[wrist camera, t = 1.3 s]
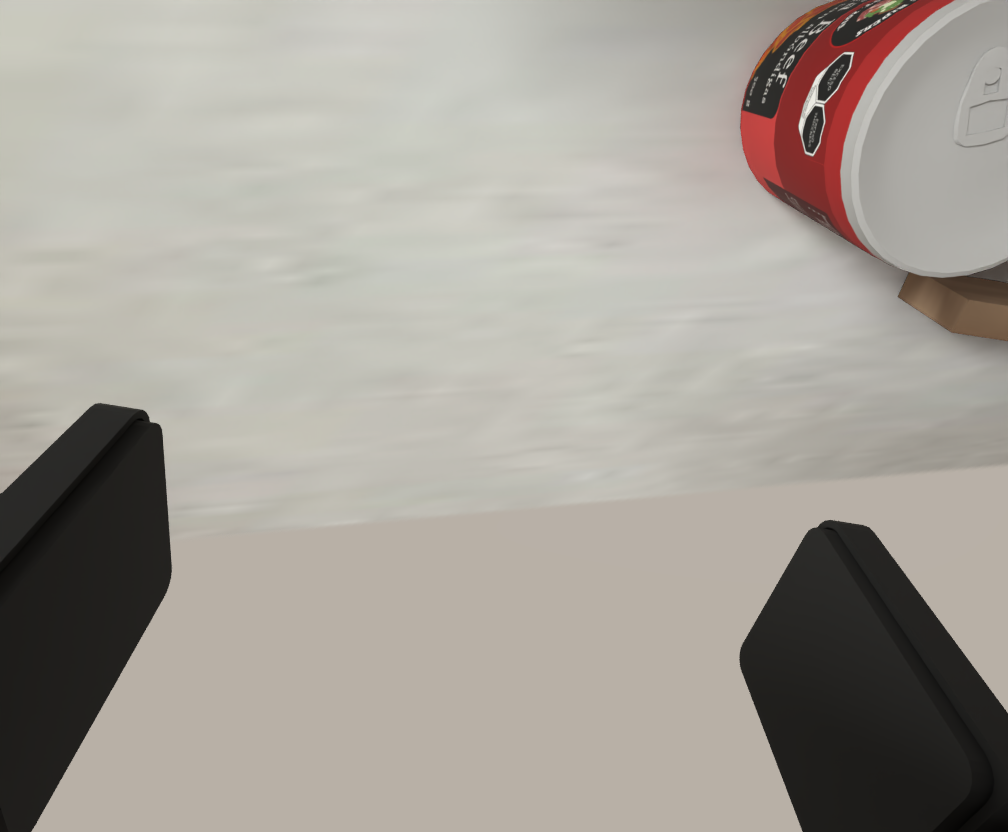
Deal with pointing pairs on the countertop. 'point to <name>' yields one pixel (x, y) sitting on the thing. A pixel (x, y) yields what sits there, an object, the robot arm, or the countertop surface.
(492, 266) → the countertop surface
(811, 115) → the canned food
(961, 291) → the walnut holder
